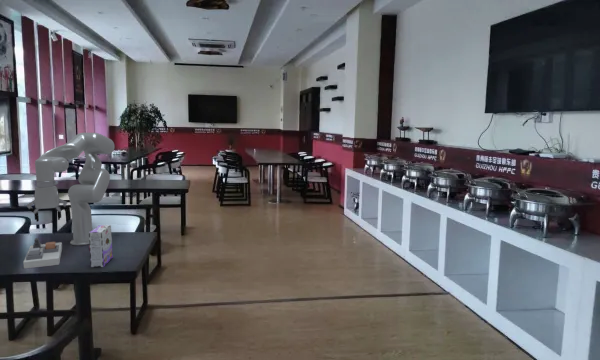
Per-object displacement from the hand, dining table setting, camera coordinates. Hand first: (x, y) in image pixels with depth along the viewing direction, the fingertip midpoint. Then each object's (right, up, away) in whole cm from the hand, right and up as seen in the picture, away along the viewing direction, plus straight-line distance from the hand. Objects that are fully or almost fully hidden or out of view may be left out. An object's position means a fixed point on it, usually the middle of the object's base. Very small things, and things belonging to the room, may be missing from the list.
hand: (48, 220), depth 220 cm
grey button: (-2, -15, -9) cm, 17 cm away
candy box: (+28, -19, -6) cm, 35 cm away
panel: (-3, -18, +1) cm, 18 cm away
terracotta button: (0, -14, +2) cm, 14 cm away
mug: (+21, -18, +7) cm, 29 cm away
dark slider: (-10, -14, +7) cm, 18 cm away
